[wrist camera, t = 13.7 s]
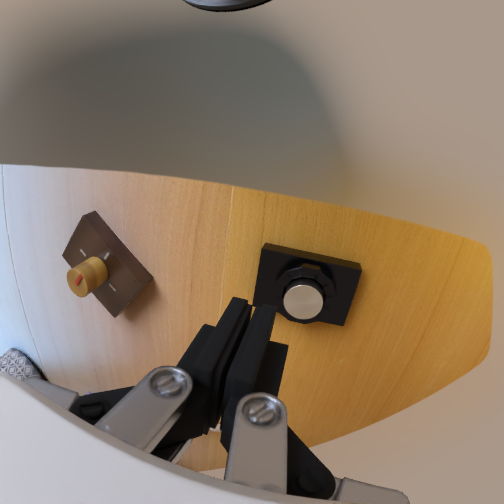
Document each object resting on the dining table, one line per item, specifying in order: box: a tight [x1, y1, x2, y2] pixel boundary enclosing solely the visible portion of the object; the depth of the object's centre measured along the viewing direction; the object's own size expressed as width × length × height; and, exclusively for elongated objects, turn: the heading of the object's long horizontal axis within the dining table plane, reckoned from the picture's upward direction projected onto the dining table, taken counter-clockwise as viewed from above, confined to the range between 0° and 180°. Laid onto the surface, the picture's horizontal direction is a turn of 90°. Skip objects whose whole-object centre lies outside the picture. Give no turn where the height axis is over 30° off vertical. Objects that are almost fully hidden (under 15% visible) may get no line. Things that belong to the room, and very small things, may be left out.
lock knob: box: [67, 257, 108, 297], centre depth 39 cm, size 4×4×5 cm
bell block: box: [252, 243, 362, 326], centre depth 35 cm, size 12×8×4 cm, turn 82°
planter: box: [0, 348, 43, 380], centre depth 62 cm, size 19×19×16 cm
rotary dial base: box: [62, 211, 153, 318], centre depth 42 cm, size 14×10×3 cm
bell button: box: [284, 278, 323, 319], centre depth 33 cm, size 4×4×2 cm
